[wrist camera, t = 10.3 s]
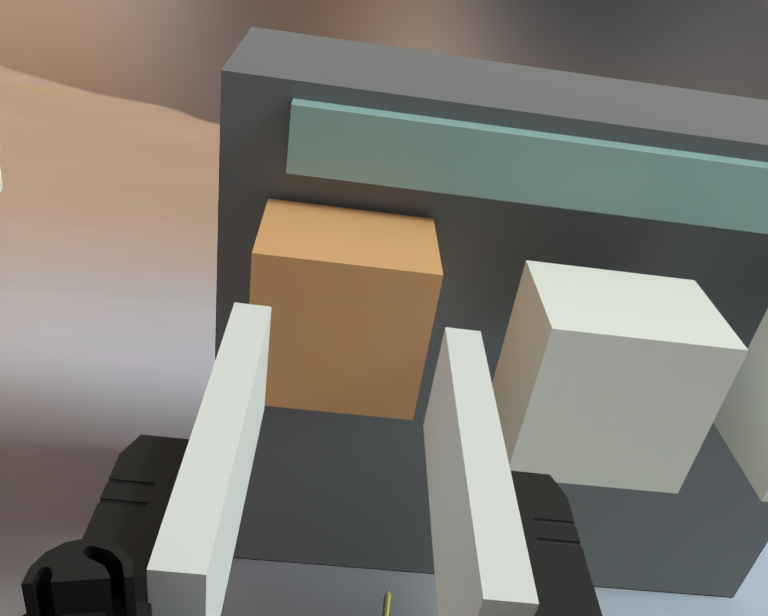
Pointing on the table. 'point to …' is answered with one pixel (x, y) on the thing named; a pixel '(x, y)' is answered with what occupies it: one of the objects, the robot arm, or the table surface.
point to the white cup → (0, 181)
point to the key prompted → (345, 306)
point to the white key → (749, 413)
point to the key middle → (611, 376)
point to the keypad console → (492, 272)
